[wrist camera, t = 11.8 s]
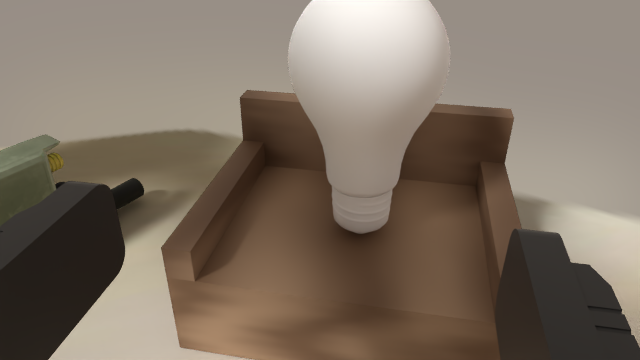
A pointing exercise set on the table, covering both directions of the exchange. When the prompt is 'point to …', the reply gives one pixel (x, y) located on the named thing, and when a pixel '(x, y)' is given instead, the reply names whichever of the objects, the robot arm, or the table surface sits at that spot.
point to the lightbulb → (367, 93)
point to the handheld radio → (41, 177)
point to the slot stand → (346, 246)
